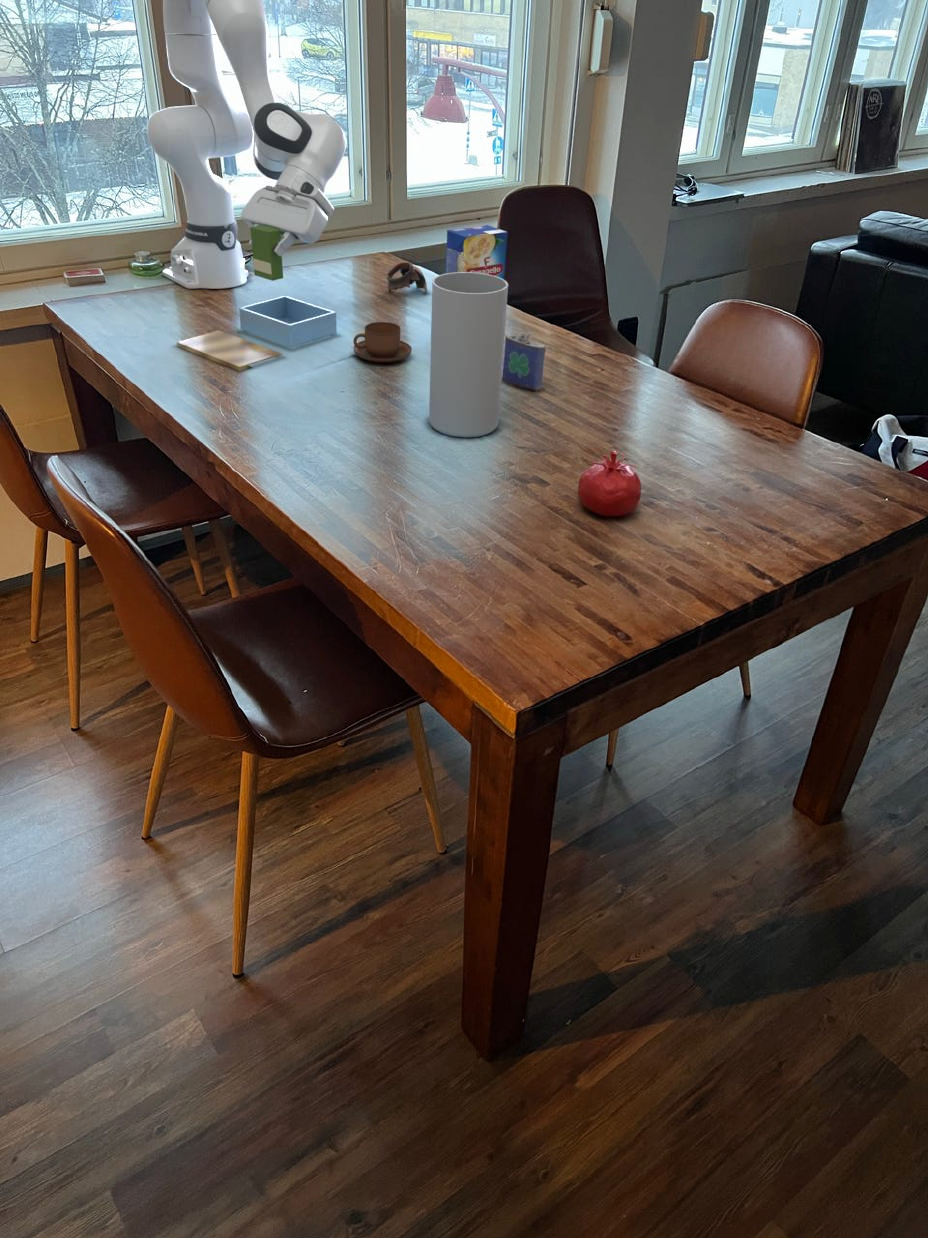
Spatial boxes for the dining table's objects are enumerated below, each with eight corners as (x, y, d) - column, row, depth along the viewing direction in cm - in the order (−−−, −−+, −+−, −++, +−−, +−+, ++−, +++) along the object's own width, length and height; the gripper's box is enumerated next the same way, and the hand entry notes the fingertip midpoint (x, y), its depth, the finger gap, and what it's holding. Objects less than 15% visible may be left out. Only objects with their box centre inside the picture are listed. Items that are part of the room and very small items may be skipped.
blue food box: (500, 334, 209) (507, 231, 196) (461, 342, 203) (466, 237, 190) (482, 326, 213) (487, 224, 200) (443, 333, 208) (446, 229, 195)
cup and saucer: (377, 371, 187) (376, 341, 183) (342, 354, 194) (341, 324, 191) (423, 359, 194) (423, 330, 190) (388, 343, 201) (388, 314, 197)
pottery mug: (432, 299, 230) (417, 271, 224) (397, 314, 232) (382, 287, 226) (428, 273, 237) (414, 246, 231) (395, 288, 240) (380, 262, 234)
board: (177, 346, 194) (176, 341, 193) (219, 334, 201) (218, 330, 200) (240, 371, 184) (239, 366, 183) (282, 357, 191) (281, 353, 190)
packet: (254, 275, 193) (249, 226, 187) (265, 272, 195) (261, 224, 189) (272, 280, 190) (268, 231, 185) (283, 277, 192) (280, 229, 187)
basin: (241, 332, 203) (238, 307, 200) (286, 319, 211) (285, 295, 208) (291, 350, 195) (290, 325, 192) (336, 336, 203) (336, 311, 200)
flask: (543, 389, 183) (548, 335, 177) (535, 393, 181) (539, 339, 175) (506, 377, 187) (510, 324, 181) (498, 381, 186) (501, 327, 179)
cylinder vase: (464, 405, 175) (470, 268, 160) (512, 426, 167) (523, 284, 153) (414, 422, 167) (416, 279, 153) (463, 445, 160) (470, 298, 146)
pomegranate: (595, 528, 138) (603, 472, 133) (563, 498, 146) (570, 443, 140) (651, 517, 142) (662, 462, 136) (617, 489, 149) (626, 435, 144)
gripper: (254, 174, 192) (221, 231, 191) (323, 189, 182) (289, 250, 181) (272, 194, 198) (240, 250, 197) (340, 211, 188) (307, 269, 187)
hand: (264, 250), depth 189 cm, fingers closed on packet, 5 cm apart
